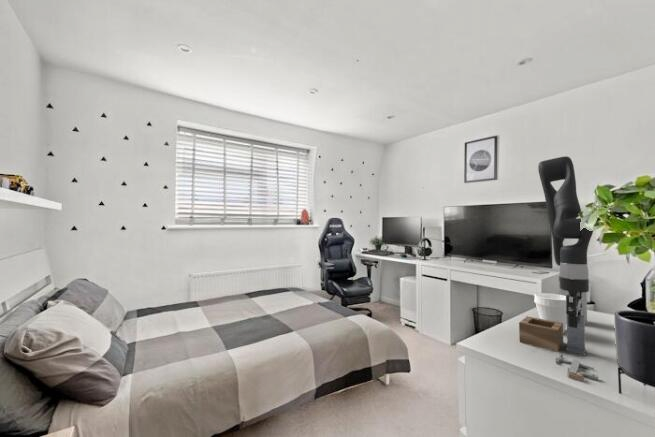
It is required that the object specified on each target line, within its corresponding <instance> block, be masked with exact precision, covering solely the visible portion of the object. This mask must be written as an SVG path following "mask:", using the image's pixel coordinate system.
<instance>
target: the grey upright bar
mask: <svg viewBox="0 0 655 437" xmlns="http://www.w3.org/2000/svg"><path fill="white" fill-rule="evenodd" d="M566 339H567V340H566V341H567V344H566V345H567V346H566V349H565V350H566V352H567V353H571V354H575V355H579V356H585V355H586V351H587V350H586V324H585V316H582V315H578V316H577V328H573V327H569V326H568V315H567V324H566Z"/></svg>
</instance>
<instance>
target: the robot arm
mask: <svg viewBox="0 0 655 437" xmlns="http://www.w3.org/2000/svg"><path fill="white" fill-rule="evenodd" d="M537 168H538V169H537V170H538V174H539V179H540V183H541V186H542V190H543V194H544V198H545V199H544V200H545V206H546V212H547V213H546V214H547V218H548V224H549V227H550V232H551V237H552V246H553V248H552V250H553V255H554V256H553V257H554V262H555V264H556V265H557V266H559V276H558V279H559V280H558V281H559V285H558V287H559V295H563V296H566V314H567V315H568V326H569V327H573V328H577V316H578V315H582V316H585V325H587V324H588V297H587V295H588V294H587V293H588V292H590V286H589V285H590V282H589V279H590V278H589V268H588V250H589V249H588V248H589V246H590V241H591V240H592V237H593V234H594V230H593V231H589V230H587V229H586V228H583V229H582V230H581V231H580V222H581V218H579V217H580V216H579V215H578V213H580V212H581V213H582V208H581V204H580V201H579V198H578V194H577V193H578V192H577V181H576V173H575V168H574V162H573V160H572V159H571V157H569V156H567V155H565V156H559V157H555V158H551V159H545V160H542V161H540V162H539V163H538V166H537ZM562 180H564V181H563V183H562V184H561V186H560V187H559V189H558V190H556V189H555V187H554V186H553V185H552V182H557V181H562ZM565 239H568V240H569V239H570V240H571V239H573V240H575V239H576V240H577V242H576V243H574V244H571V245H564V240H565Z"/></svg>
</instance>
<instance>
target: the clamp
mask: <svg viewBox="0 0 655 437" xmlns="http://www.w3.org/2000/svg"><path fill="white" fill-rule="evenodd" d="M562 357H564V354H562V353H559V354H558V356H555V364H556V365H559V364H560V363H562V362H563V363H566V364H570V366H569V367H568V368H567V378H568V379H572V380H575V381H578V382H581V383H583V382H584V377H587V378H588V379H590V380H594V381H597V382H598V381H599V375H597V374H594V373H587V372H584V371H580V370H579V368H580V367H581V368H585V369H591V370H595V367H592V366H589V365H586V364H583V363H581V360H579V359H572V360H569V359H568V360H567V359H564V358H562Z"/></svg>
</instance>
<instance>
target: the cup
mask: <svg viewBox="0 0 655 437" xmlns="http://www.w3.org/2000/svg"><path fill="white" fill-rule="evenodd" d="M533 296H534V300H533V302H534V303H535V305H536V309H537V313H538V316H539V319H543V320H549V321H554V322H559V323H563V334H564V333H565V330H566V328H567V314H566V296H563V295H560V294H557V293H556V294H555V293H549V292H547V293H546V292H539V293H534V294H533Z"/></svg>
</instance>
